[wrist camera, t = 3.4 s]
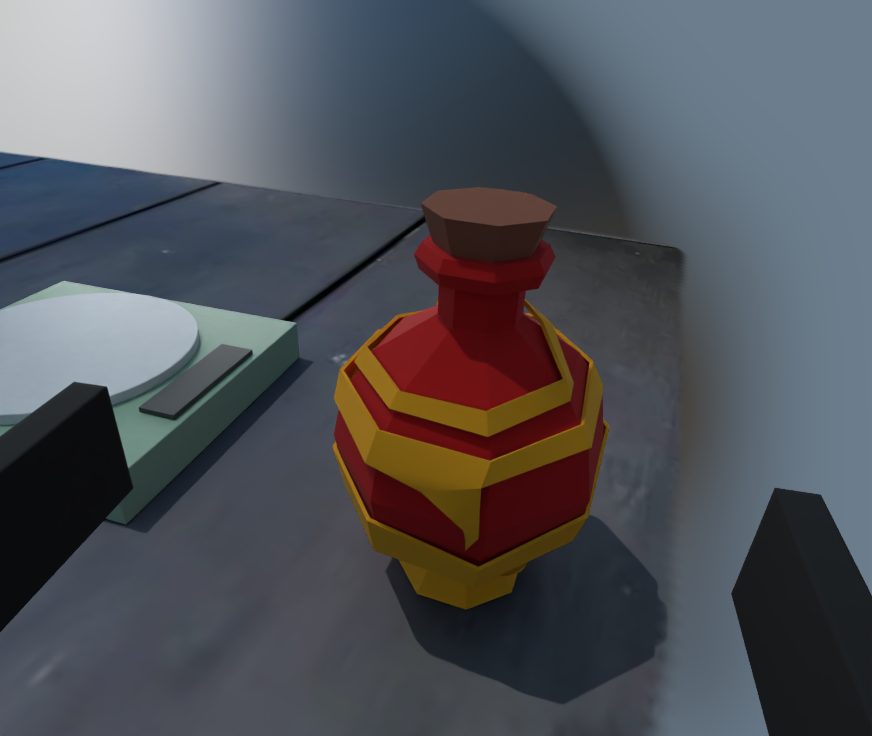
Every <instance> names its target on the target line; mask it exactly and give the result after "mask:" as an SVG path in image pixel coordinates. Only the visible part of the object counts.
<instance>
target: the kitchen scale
mask: <svg viewBox="0 0 872 736" xmlns="http://www.w3.org/2000/svg"><path fill="white" fill-rule="evenodd" d="M298 358H299V346H298V334H297V323H293V322H288V321H282V320H277V319H271V318H266V317H260V316H254V315H249V314H243V313H238V312H232V311H227V310H221V309H216V308H210V307H205V306H199V305H194V304H188V303H183V302H177V301H172V300H166V299H161V298H156V297H152V296H146V295H139V294H133V293H127V292H122V291H116V290H111V289H105V288H100V287H94V286H89V285H83V284H78V283H72V282H66V281H62V282H60V283H58V284H56V285H53V286H51V287H49V288H47V289H45V290H42V291H40V292H38V293H36V294H34V295H31V296H29V297H27V298H25V299H22V300H20V301H18V302H16V303H14V304H11V305H9V306H7V307H5V308H3V309H0V436H1V435H3V434H4V433H5V432H7V431H8V430H9V429H11V428H12V427H13V426H15V425H16V424H17V423H19V422H20V421H21V420H23V419H24V418H26V417H27V416H28V415H30V414H31V413H32V412H34V411H35V410H36V409H38V408H39V407H40V406H42V405H43V404H44V403H46V402H47V401H48V400H50V399H51V398H53V397H54V396H55V395H57V394H58V393H59V392H61V391H62V390H63V389H65V388H66V387H67V386H69V385H70V384H71V383H73V382H80V383H87V384H94V385H100V386H107V388H108V392H109V395H110V399H111V403H112V407H113V411H114V415H115V419H116V423H117V426H118V430H119V434H120V438H121V442H122V446H123V450H124V454H125V457H126V461H127V465H128V469H129V473H130V477H131V481H132V484H133V489H132V490H131V491H130V493H129V494H128V495H127V496H126V497H125V498H124V499H123V500H122V501H121V502H120V503H119V504H118V506H117V507H116V508H115V509H114V510H113V511H112V512H111V513H110V514H109V515H108V516H107V517H106V518H105V519H108V520H112V521H115V522H119V523H122V524H127V523H128V522H129V521H130V520H131V519H133V518H134V517H135V516H136V515H137V514H138V513H139V512H140V511H141V510H142V509H143V508H144V507H145V506H146V505H147V504H148V503H149V502H150V501H151V500H152V499H153V498H154V497H155V496H156V495H157V494H158V493H159V492H160V491H161V490H163V489H164V488H165V487H166V486H167V485H168V484H169V483H170V482H171V481H172V480H173V479H174V478H175V477H176V476H177V475H178V474H179V473H180V472H181V471H182V470H183V469H184V468H185V467H186V466H187V465H188V464H189V463H190V462H192V461H193V460H194V459H195V458H196V457H197V456H198V455H199V454H200V453H201V452H202V451H203V450H204V449H205V448H206V447H207V446H208V445H209V444H210V443H211V442H212V441H213V440H214V439H215V438H216V437H217V436H218V435H219V434H220V433H222V432H223V431H224V430H225V429H226V428H227V427H228V426H229V425H230V424H231V423H232V422H233V421H234V420H235V419H236V418H237V417H238V416H239V415H240V414H241V413H242V412H243V411H244V410H245V409H246V408H247V407H248V406H249V405H251V404H252V403H253V402H254V401H255V400H256V399H257V398H258V397H259V396H260V395H261V394H262V393H263V392H264V391H265V390H266V389H267V388H268V387H269V386H270V385H271V384H272V383H273V382H274V381H275V380H276V379H277V378H278V377H279V376H281V375H282V374H283V373H284V372H285V371H286V370H287V369H288V368H289V367H290V366H291V365H292V364H293V363H294V362H295V361H296V360H297V359H298Z"/></svg>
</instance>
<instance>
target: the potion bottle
mask: <svg viewBox="0 0 872 736" xmlns="http://www.w3.org/2000/svg"><path fill="white" fill-rule="evenodd" d="M421 206H422V209H423V212H424V215H425V219H426V222H427V225H428V228H429V231H430V235H429V236H428V237H427V238H426V239H425V240H423V241H422V242H421V244H420V246H419V247H418V249H417V250H416V252H415V253H414V255H415V258H416V261H417V264H418V267H419V269H420V270H421V271H423V272H424V273H425V274H426V275H427V276H428V277H430V278H431V279H432V280H433V281H434V282H436V283H437V284H438V285H439V295H438V301H436V304H437V305H436V306H434V307H431V308H429V309H426V310H422V311H416V312H411V313H406V314H401V315H397V316H395V317H394V318H393V319H392V320H391V321H390V322H389V323H388V324H387V325H386V326H385V327H383V328H382V329H379V330H377V331H376V332H375V333H374V334H373V335H372V336H371V337H370V338H369V340H368V341H367V342H366V343H365V344H364V345H363V346H362V347H361V348H360V349H359V350H358V351H357V352H356V353H355V354H354V355H353V356H352V357H351V358H350V359H349V360H348V361H347V362H346V363H345V364H344V365H343V366H342V367H341V368H340V371H339V376H338V381H337V385H336V390H335V395H334V399H335V402H336V404H337V406H338V408H339V411H338V416H337V421H336V427H335V432H334V437H335V440H336V441H335V443H334V445H333V450H334V453H335V456H336V459H337V462H338V466H339V469H340V472H341V475H342V478H343V482H344V485H345V487H346V489H347V491H348V494H349V496H350V498H351V500H352V503H353V505H354V507H355V509H356V512H357V514H358V516H359V518H360V521H361V523H362V525H363V527H364V530H365V532H366V534H367V536H368V539H369V541H370V543H371V545H372V548H373V550H374V551H377V552H380V553H382V554H385V555H388V556H390V557H393V558H396V559H398V560H399V562H400V563H401V565H402V567H403V569H404V571H405V573H406V575H407V576H408V578H409V580H410V582H411V584H412V586H413V588H414V589H415V591H416V593H417V594H419V595H422V596H425V597H428V598H431V599H435V600H438V601H441V602H444V603H447V604H450V605H453V606H456V607H460V608H463V609H466V610H467V609H469V608H472V607H475V606H477V605H480V604H483V603H485V602H488V601H490V600H493V599H496V598H498V597H501V596H504V595H506V594H509V593H512V590H513V586H514V583H515V580H516V577H517V574H518V572H521V571H522V570H523V569H524V568H525V566H526V565H527V562H529V561H531V560H533V559H535V558H537V557H540V556H542V555H544V554H546V553H548V552H550V551H552V550H555V549H557V548H559V547H561V546H563V545H565V544H567V543H570V542H572V541H573V540H574V539H575V537H576V535H577V534H578V532H579V531H580V529H581V527H582V526H583V524H584V523H585V521H586V520H587V518H588V516H589V512H590V507H591V503H592V499H593V495H594V491H595V486H596V482H597V478H598V474H599V470H600V465H601V461H602V457H603V453H604V449H605V444H606V440H607V436H608V432H609V428H610V427H609V426H608V424H607V423H606V421H605V420H604V419H603V399H602V394H603V389H604V386H603V384H602V381H601V379H600V376H599V374H598V372H597V369H596V367H595V364H594V362H593V360H592V359H590V358H589V357H588V356H587V355H586V354H585V353H584V352H582V351H581V350H580V349H579V348H578V347H577V346H575V345H574V344H573V343H572V342H571V341H570V340H569V339H567V338H566V337H565V336H564V335H563V334H562V333H561V332H559V331H558V330H557V329H556V328H555V327H554V326H553V324H552V322H550V321H549V320H548V319H547V318H546V317H545V316H544V315H543V314H541V313H540V312H539V311H538V310H537V309H536V308H535V307H534V306H532V305H531V304H530V303H529V302H528V301H527V300H526V299H525V292H526V290H532V289H538V288H539V287H540V285H541V283H542V281H543V279H544V278H545V276H546V274H547V272H548V270H549V268H550V266H551V265H552V263H553V261H554V259H555V255H554V253H553V250H552V248H551V246H550V244H548V243H546V242H544V241H543V240H541V239H542V237H543V235H544V233H545V231H546V229H547V227H548V225H549V222H550V220H551V218H552V216H553V214H554V212H555V210H556V208H557V206H555V205H553V204H551V203H549V202H547V201H544V200H542V199H540V198H538V197H536V196H534V195H532V194H530V193H524V192H516V191H508V190H500V189H492V188H485V187H477V188H465V189H453V190H442V191H437V192H436V193H435V194H433V195H432V196H430V197H429V198H427V199H426V200H424V201H423V202H422V203H421ZM524 305H525V307H526V308H527V309H528V310H529V311H530V313H524V312H523V309H524ZM373 348H375V349H374V350H373ZM372 350H373V351H372ZM371 351H372V352H371ZM358 369H359V370H358Z"/></svg>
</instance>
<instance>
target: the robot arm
mask: <svg viewBox="0 0 872 736" xmlns="http://www.w3.org/2000/svg"><path fill="white" fill-rule="evenodd" d="M132 489H133V484H132V481H131V477H130V473H129V469H128V465H127V461H126V457H125V454H124V450H123V446H122V442H121V438H120V434H119V430H118V426H117V423H116V419H115V415H114V411H113V407H112V403H111V399H110V395H109V392H108V388H107V386H100V385H94V384H87V383H80V382H73V383H71V384H70V385H69V386H67V387H66V388H65V389H63V390H62V391H61V392H59V393H58V394H57V395H55V396H54V397H53V398H51V399H50V400H48V401H47V402H46V403H44V404H43V405H42V406H40V407H39V408H38V409H36V410H35V411H34V412H32V413H31V414H30V415H28V416H27V417H26V418H24V419H23V420H21V421H20V422H19V423H17V424H16V425H15V426H13V427H12V428H11V429H9V430H8V431H7V432H5V433H4V434H3V435H1V436H0V632H1V631H2V630H3V629H4V628H5V626H6V625H7V624H8V623H9V622H10V621H11V620H12V619H13V618H14V617H15V616H16V615H17V614H18V612H19V611H20V610H21V609H22V608H23V607H24V606H25V605H26V604H27V603H28V602H29V601H30V599H31V598H32V597H33V596H34V595H35V594H36V593H37V592H38V591H39V590H40V589H41V588H42V587H43V585H44V584H45V583H46V582H47V581H48V580H49V579H50V578H51V577H52V576H53V575H54V574H55V572H56V571H57V570H58V569H59V568H60V567H61V566H62V565H63V564H64V563H65V562H66V561H67V560H68V558H69V557H70V556H71V555H72V554H73V553H74V552H75V551H76V550H77V549H78V548H79V547H80V545H81V544H82V543H83V542H84V541H85V540H86V539H87V538H88V537H89V536H90V535H91V534H92V533H93V531H94V530H95V529H96V528H97V527H98V526H99V525H100V524H101V523H102V522H103V521H104V520H105V518H106V517H107V516H108V515H109V514H110V513H111V512H112V511H113V510H114V509H115V508H116V507H117V506H118V504H119V503H120V502H121V501H122V500H123V499H124V498H125V497H126V496H127V495H128V494H129V493H130V491H131V490H132ZM731 594H732V598H733V601H734V605H735V609H736V613H737V616H738V620H739V624H740V628H741V631H742V635H743V639H744V643H745V646H746V650H747V654H748V658H749V662H750V665H751V669H752V672H753V677H754V680H755V684H756V688H757V692H758V695H759V699H760V703H761V707H762V710H763V714H764V718H765V722H766V725H767V729H768V733H769V736H872V595H871V593H870V592H869V589H868V587H867V585H866V583H865V581H864V579H863V577H862V575H861V574H860V571H859V569H858V567H857V566H856V564H855V562H854V560H853V558H852V556H851V554H850V552H849V550H848V548H847V546H846V544H845V542H844V540H843V538H842V536H841V534H840V532H839V530H838V528H837V526H836V524H835V522H834V520H833V518H832V516H831V514H830V512H829V510H828V508H827V506H826V504H825V502H824V500H823V498H822V496H821V495H819V494H812V493H806V492H799V491H793V490H786V489H779V488H775V489H774V491H773V493H772V496H771V498H770V501H769V503H768V506H767V509H766V511H765V513H764V516H763V518H762V520H761V523H760V525H759V528H758V530H757V533H756V535H755V537H754V540H753V542H752V545H751V547H750V549H749V552H748V555H747V557H746V559H745V562H744V564H743V567H742V569H741V571H740V574H739V576H738V579H737V581H736V584H735V586H734V588H733V591H732V593H731Z"/></svg>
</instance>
